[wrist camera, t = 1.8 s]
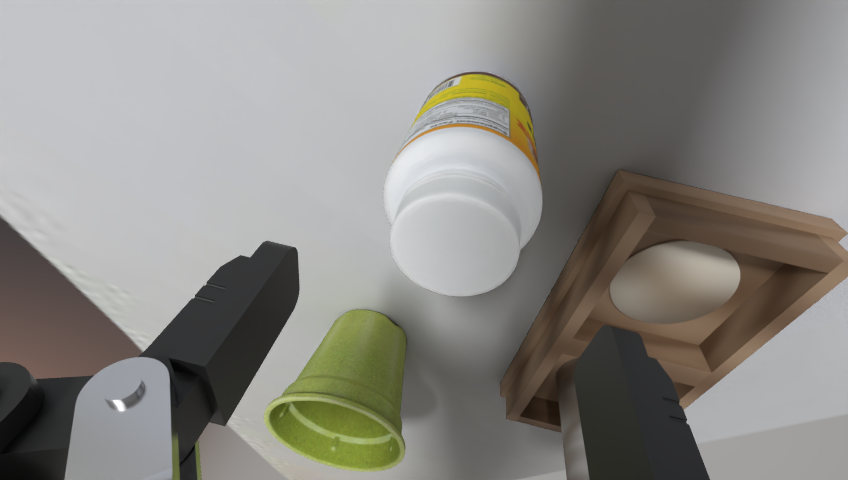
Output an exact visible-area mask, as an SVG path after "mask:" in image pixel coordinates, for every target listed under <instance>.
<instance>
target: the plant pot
mask: <svg viewBox="0 0 848 480" xmlns="http://www.w3.org/2000/svg"><path fill="white" fill-rule="evenodd" d="M406 344H407V340H406V336H405V333H404V331H403V330H402V328H401V327H398V326H396V325H395V324H393V323H392V322H391V321H390V320H389V319H388V317H387V316H385V315H383V314H381V313H378V312H374V311H370V310H352V311H348V312H347V313H345V314H344V315H342V316H341V317H339V318H338V319H337V320H336V321H335V323H334V324H333V326H332V327H331V329H330V330H329V332H328V333H327V335H326V336H325V338H324V339H323V341H322V342H321V344H320V345H319V347H318V348H317V350H316V351H315V353H314V354H313V356H312V357H311V359H310V360H309V362H308V363H307V365H306V366H305V368H304V369H303V371H302V372H301V374H300V375H299V376H298V378H297V379H296V381H295V382H294V383H292V384H291V385H290V386H289V387H288V388H287V389H286V390H285V391H284V393H283V394H282V396H280V397H278V398H276V399H274V400H273V401H272V402H271V403H270V404H269V405H268V407H267V408H266V410H265V413H264V422H265V425H266V427H267V428H268V430H269V432H270V433H271V434H272V435H273V436H274V437H275V438H276V439H277V440H278V441H279V442H281V443H282V444H283V445H285V446H286V447H288V448H289V449H291V450H292V451H294V452H296V453H298V454H300V455H302V456H304V457H306V458H308V459H311V460H313V461H316V462H319V463H321V464H324V465H328V466H332V467H335V468H339V469H345V470H353V471H362V472H364V471H372V472H374V471H382V470H386V469H390V468H392V467H394V466H396V465H397V464H398V463H400V462H401V461H402V460H403V458H404V455H405V442H404V439H403V437H402V435H401V432H402V421H401V417H400V409H401V398H402V386H403V374H404V363H405V354H406Z"/></svg>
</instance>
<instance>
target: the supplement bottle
mask: <svg viewBox="0 0 848 480" xmlns="http://www.w3.org/2000/svg"><path fill="white" fill-rule="evenodd" d="M383 200H384V209H385V213H386V217H387V220H388V222H389V224H390V226H391V231H390V248H391V252H392V256H393V258H394V260H395V262H396V264H397V265H398V267H399V268H400V269H401V271H402V272H403V273H404V274H405V275H406V276H407V277H408V278H409V279H411V280H412V281H413V282H414V283H416V284H417V285H419V286H421V287H423V288H425V289H427V290H429V291H432V292H435V293H438V294H442V295H447V296H457V297H465V296H474V295H479V294H482V293H485V292H488V291H490V290H493V289H494V288H496V287H498V286H500V285H501V284H502V283H503V282H505V281H506V280H507V279H508V278H509V277H510V275H511V274H512V273H513V271H514V269H515V268H516V265H517V262H518V259H519V254H520V250H521V249H522V248H523V247H524V246H525V245H526V244H527V243H528V241H529V240H530V239H531V237H532V236H533V234H534V232H535V230H536V228H537V226H538V224H539V221H540V217H541V213H542V204H543V201H542V187H541V180H540V173H539V166H538V159H537V152H536V144H535V138H534V131H533V124H532V118H531V114H530V110H529V107H528V104H527V102H526V100H525V98H524V96H523V95H522V93H521V92H520V91H519V90H518V89H517V87H516V86H514V85H513V84H512V83H511V82H510V81H508V80H507V79H505V78H503V77H501V76H499V75H497V74H494V73H490V72H486V71H467V72H462V73H459V74H456V75H454V76H451V77H449V78H448V79H446V80H444V81H443V82H441V83H440V84H439V85H438V86H437V87H436V88H435V89H434V90H433V91H432V92H431V93H430V95H429V96H428V98H427V99H426V101H425V102H424V104H423V106H422V108H421V110H420V112H419V113H418V115H417V117H416V119H415V121H414V123H413V125H412V126H411V128H410V130H409V132H408V134H407V136H406V138H405V140H404V142H403V144H402V146H401V148H400V150H399V151H398V153H397V155H396V157H395V159H394V161H393V163H392V165H391V167H390V169H389V172H388V175H387V178H386V181H385V185H384V193H383Z"/></svg>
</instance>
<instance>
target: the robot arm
mask: <svg viewBox="0 0 848 480" xmlns="http://www.w3.org/2000/svg"><path fill="white" fill-rule="evenodd" d="M298 296H299V269H298V252H297V249H296V248H295V247H291V246H287V245H283V244H278V243H274V242H270V241H265V242H263V243H262V244H261V245H260V247H259V248H258V249H257V250H256V251H255V253H254V254H253V255H252V256H251V257H250V258H249V257H245V256H241V255H240V256H238V257H237V258H235V259H233V260H231V261H230V262H228V263H226V264H225V265H223V266H221V267H220V268H219V269H218V270H217V271H216V272H215V274H214V275H213V276H212V277H211V278H210V279H209V280H208V281H207V284H206V286H203V287H202V288H201V289H200V290H199V291H198V293H197V294H196V295H195V298H194V299H191V300H190V301H189V303H188V304H187V305H186V306H185V307H184V308H183V309H182V310H181V311H180V313H179V314H178V315H177V316H176V317H175V318H174V319H173V320H172V321H171V323H170V324H169V325H168V326H167V327H166V328H165V329H164V330H163V331H162V333H161V334H160V335H159V336H158V337H157V338H156V339H155V340H154V341H153V343H152V344H151V345H150V346H149V347H148V348H147V349H146V350H145V351H144V352H143V353H142V354H141V355H139V356H138V357H136V358H130V359H125V360H122V361H119V362H117V363H114V364H112V365H110V366H108V367H106V368H105V369H103V370H102V371H100V372H99V373H97V374H96V375H93V376H83V377H65V378H48V379H35V378H34V377H33V376H32V375H31V374H30V372H29V371H28V370H27V369H26V368H25V367H23V366H21V365H19V364H16V363H9V362H0V480H202V478H201V465H200V453H199V441H198V438H199V437H200V435H201V434H202V432H203V430H204V429H205V427H206V426H207V424H208V423H209V422H211V423H215V424H219V425H222V426H225V425H226V424H227V422H228V420H229V419H230V417H231V415H232V414H233V412H234V410H235V408H236V407H237V405H238V403H239V402H240V400H241V398H242V397H243V395H244V393H245V391H246V390H247V388H248V386H249V385H250V383H251V381H252V380H253V378H254V376H255V375H256V373H257V371H258V369H259V368H260V366H261V364H262V363H263V361H264V359H265V358H266V356H267V354H268V352H269V351H270V349H271V347H272V346H273V344H274V342H275V341H276V339H277V337H278V335H279V334H280V332H281V330H282V329H283V327H284V325H285V324H286V322H287V320H288V319H289V317H290V315H291V313H292V312H293V310H294V308H295V305H296V303H297V300H298ZM574 383H575V390H576V396H577V402H578V409H579V415H580V422H581V428H582V434H583V441H584V447H585V454H586V460H587V466H588V473H589V479H590V480H710V479H709V476H708V473H707V471H706V468H705V465H704V463H703V460H702V458H701V455H700V452H699V450H698V447H697V445H696V442H695V439H694V437H693V434H692V431H691V429H690V426H689V425H688V424H687V423H686V421H687V418H686V416H685V413H684V411H683V408H682V406H680V405H679V402H680V400H679V398H678V395H677V392H676V390H675V387H674V384H673V382H672V379H671V378H670V377H669V375H668V374H667V373H666V371H665V370H664V369H663V367H662V366H661V365H660V363H659V362H658V361H657V359H655V358H651V357H648V354H647V351H646V348H645V345H644V343H643V340H642V337H641V336H640V334H639V333H637V332H634V331H630V330H626V329H622V328H618V327H614V326H610V325H604V326H602V327H601V328H600V329H599V331H598V332H597V334H596V335H595V336H594V338H593V339H592V341H591V342H590V343H589V345H588V346H587V347H586V349H585V350H584V352H583V353H582V354H581V356H580V357H579V359H578V361H577V363H576V367H575V372H574Z"/></svg>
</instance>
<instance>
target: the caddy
mask: <svg viewBox="0 0 848 480" xmlns="http://www.w3.org/2000/svg"><path fill="white" fill-rule="evenodd" d="M847 234H848V233H847V232H846V231H845V230H844V229H843V228H841V227H840V226H839V225H838V224H837V223H836V222H835V221H833V220H832V219H830V218H825V217H821V216H817V215H812V214H808V213H804V212H799V211H795V210H791V209H786V208H782V207H778V206H773V205H769V204H765V203H760V202H756V201H752V200H748V199H743V198H739V197H735V196H730V195H726V194H722V193H717V192H713V191H709V190H704V189H700V188H696V187H691V186H687V185H683V184H678V183H674V182H670V181H665V180H661V179H657V178H652V177H648V176H644V175H639V174H635V173H631V172H627V171H622V170H618V171H617V173H616V174H615V176H614V178H613V180H612V182H611V183H610V185H609V187H608V189H607V191H606V193H605V194H604V196H603V198H602V200H601V202H600V203H599V205H598V207H597V209H596V211H595V212H594V214H593V216H592V218H591V220H590V222H589V223H588V225H587V227H586V229H585V231H584V232H583V234H582V236H581V238H580V240H579V242H578V243H577V245H576V247H575V249H574V251H573V252H572V254H571V256H570V258H569V260H568V261H567V263H566V265H565V267H564V269H563V271H562V272H561V274H560V276H559V278H558V280H557V281H556V283H555V285H554V287H553V289H552V290H551V292H550V294H549V296H548V298H547V300H546V301H545V303H544V305H543V307H542V309H541V310H540V312H539V314H538V316H537V318H536V320H535V321H534V323H533V325H532V327H531V329H530V330H529V332H528V334H527V336H526V338H525V339H524V341H523V343H522V345H521V347H520V349H519V350H518V352H517V354H516V356H515V358H514V359H513V361H512V363H511V365H510V367H509V368H508V370H507V372H506V374H505V376H504V378H503V379H502V381H501V383H500V396H502V397H506V419H510V420H514V421H518V422H522V423H526V424H530V425H534V426H537V427H541V428H545V429H549V430H553V431H557V432H561V433H562V438H563V447H564V456H565V466H566V475H567V480H590V479H589V473H588V466H587V460H586V454H585V447H584V441H583V434H582V428H581V422H580V415H579V409H578V402H577V396H576V390H575V383H574V372H575V367H576V363H577V361H578V359H579V357H580V356H581V354H582V353H583V352H584V350H585V349H586V347H587V346H588V345H589V343H590V342H591V341H592V339H593V338H594V336H595V335H596V334H597V332H598V331H599V329H600V328H601V327H602V326H604V325H610V326H614V327H618V328H622V329H626V330H630V331H634V332H637V333H639V334H640V336H641V337H642V340H643V343H644V345H645V348H646V351H647V354H648V357H651V358H655V359H657V361H658V362H659V363H660V365H661V366H662V367H663V369H664V370H665V371H666V373H667V374H668V375H669V377H670V378H671V379H672V382H673V384H674V387H675V390H676V392H677V395H678V398H679V400H680V402H679V405H680V406H682V408H683V410H684V409H685V408H686V407H688V406H689V405H690V404H691V403H693V402H694V401H695V400H696V399H698V398H699V397H700V396H701V395H702V394H704V393H705V392H706V391H707V390H709V389H710V388H711V387H712V386H714V385H715V384H716V383H717V382H718V381H720V380H721V379H722V378H723V377H725V376H726V375H727V374H728V373H730V372H731V371H732V370H733V369H734V368H736V367H737V366H738V365H739V364H741V363H742V362H743V361H744V360H746V359H747V358H748V357H749V356H750V355H752V354H753V353H754V352H755V351H757V350H758V349H759V348H760V347H762V346H763V345H764V344H765V343H767V342H768V341H769V340H770V339H771V338H773V337H774V336H775V335H776V334H778V333H779V332H780V331H781V330H783V329H784V328H785V327H786V326H787V325H789V324H790V323H791V322H792V321H794V320H795V319H796V318H797V317H799V316H800V315H801V314H802V313H803V312H805V311H806V310H807V309H808V308H810V307H811V306H812V305H813V304H815V303H816V302H817V301H818V300H820V299H821V298H822V297H823V296H824V295H826V294H827V293H828V292H829V291H831V290H832V289H833V288H834V287H836V286H837V285H838V284H839V283H840V282H842V281H843V280H844V279H845V278H847V277H848V252H847V251H846V250H845V249H844V248H843V247H842V246H841V245H840V244H839V243H838V242H839V241H840V240H841V239H842V238H843V237H844V236H845V235H847Z"/></svg>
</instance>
